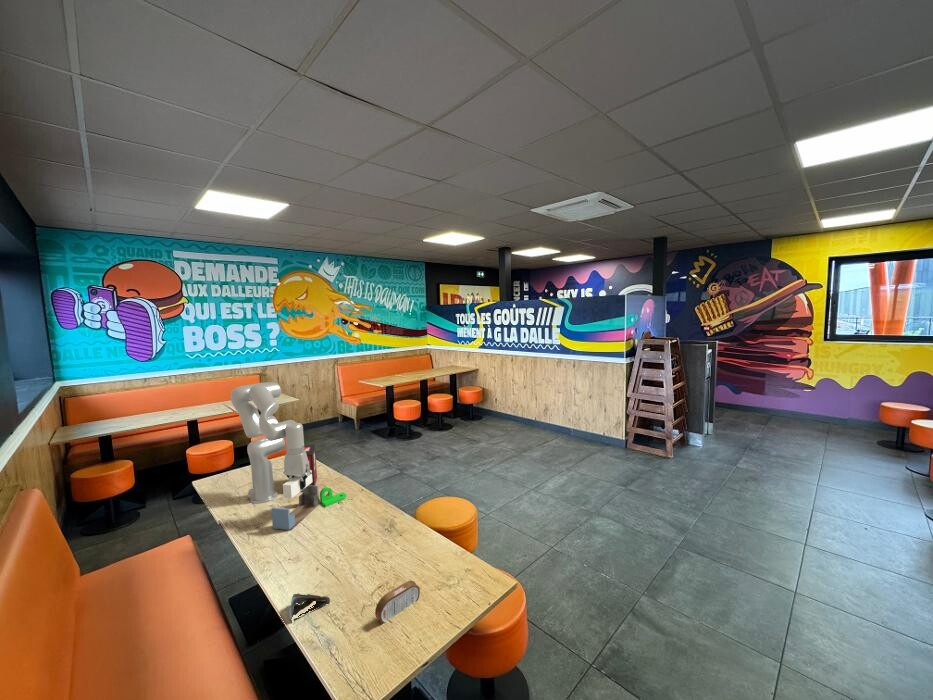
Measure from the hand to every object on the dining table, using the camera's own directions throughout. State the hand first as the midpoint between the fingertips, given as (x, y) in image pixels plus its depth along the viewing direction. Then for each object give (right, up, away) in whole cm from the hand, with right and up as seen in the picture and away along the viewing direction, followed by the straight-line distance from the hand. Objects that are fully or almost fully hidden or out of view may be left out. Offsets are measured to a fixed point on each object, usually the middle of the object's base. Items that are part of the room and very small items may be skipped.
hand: (298, 487), depth 174 cm
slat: (0, -1, 0) cm, 1 cm away
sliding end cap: (-2, -13, -10) cm, 17 cm away
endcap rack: (0, -14, 0) cm, 13 cm away
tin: (+58, -18, -58) cm, 84 cm away
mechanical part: (+12, -12, +13) cm, 22 cm away
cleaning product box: (-10, -11, +32) cm, 35 cm away
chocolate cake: (+32, -20, -54) cm, 65 cm away
